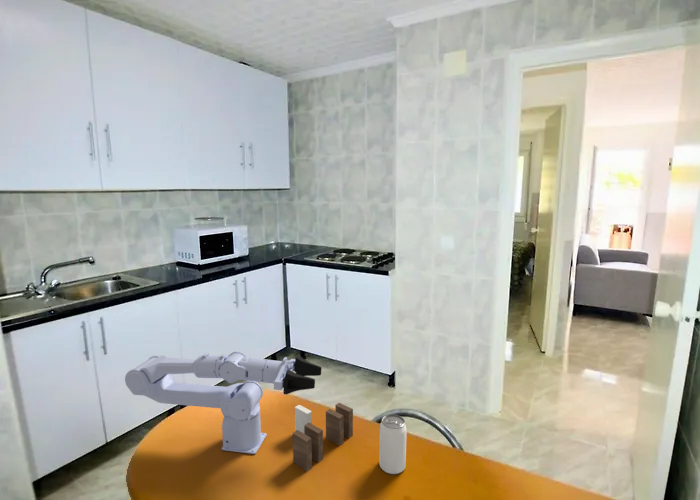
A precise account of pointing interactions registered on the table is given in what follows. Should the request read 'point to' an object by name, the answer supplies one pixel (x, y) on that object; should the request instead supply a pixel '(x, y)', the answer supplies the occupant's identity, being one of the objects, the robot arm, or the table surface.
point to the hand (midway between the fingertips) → (318, 377)
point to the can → (392, 444)
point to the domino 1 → (302, 418)
